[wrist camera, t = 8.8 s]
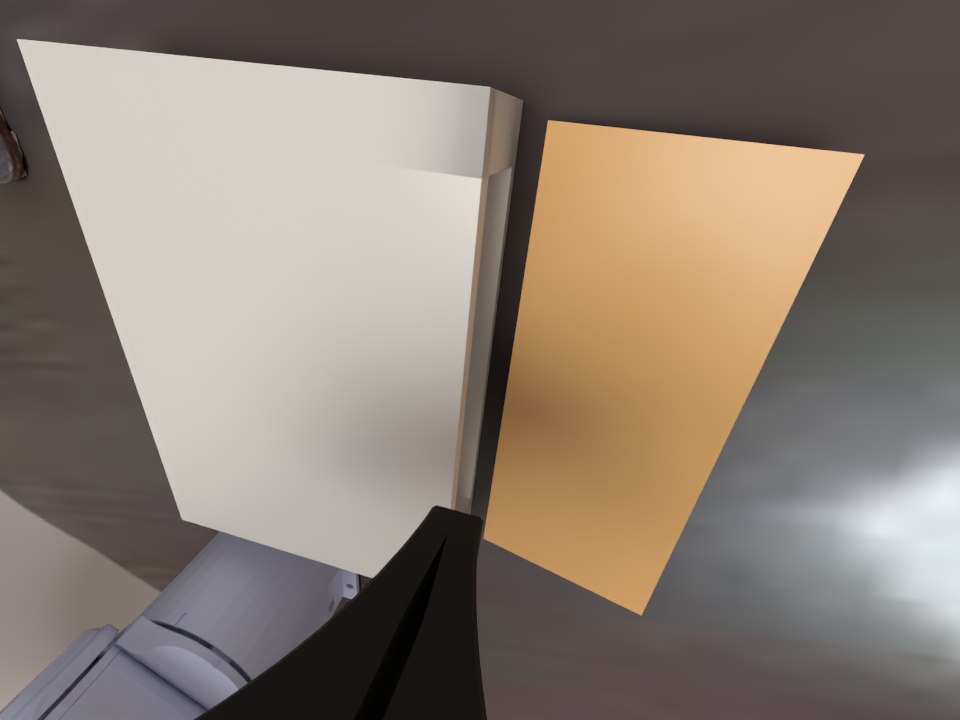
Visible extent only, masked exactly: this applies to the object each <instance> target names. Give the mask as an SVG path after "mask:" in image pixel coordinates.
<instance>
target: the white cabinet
mask: <svg viewBox="0 0 960 720" xmlns="http://www.w3.org/2000/svg"><path fill="white" fill-rule="evenodd" d="M17 41H18V44H19V47H20V50H21V53H22V56H23V59H24V62H25V65H26V68H27V70H28V73H29V76H30V79H31V82H32V85H33V88H34V91H35V94H36V97H37V100H38V102H39V105H40V108H41V111H42V114H43V117H44V120H45V123H46V126H47V129H48V131H49V134H50V137H51V140H52V143H53V146H54V149H55V152H56V155H57V158H58V161H59V163H60V166H61V169H62V172H63V175H64V178H65V181H66V184H67V187H68V190H69V193H70V195H71V198H72V201H73V204H74V207H75V210H76V213H77V216H78V219H79V222H80V224H81V227H82V230H83V233H84V236H85V239H86V242H87V245H88V248H89V251H90V254H91V256H92V259H93V262H94V265H95V268H96V271H97V274H98V277H99V280H100V283H101V286H102V288H103V291H104V294H105V297H106V300H107V303H108V306H109V309H110V312H111V315H112V317H113V320H114V323H115V326H116V329H117V332H118V335H119V338H120V341H121V344H122V347H123V349H124V352H125V355H126V358H127V361H128V364H129V367H130V370H131V373H132V376H133V379H134V381H135V384H136V387H137V390H138V393H139V396H140V399H141V402H142V405H143V408H144V411H145V413H146V416H147V419H148V422H149V425H150V428H151V431H152V434H153V437H154V440H155V442H156V445H157V448H158V451H159V454H160V457H161V460H162V463H163V466H164V469H165V472H166V474H167V477H168V480H169V483H170V486H171V489H172V492H173V495H174V498H175V501H176V504H177V506H178V509H179V512H180V515H181V518H182V520H185V521H189V522H192V523H195V524H198V525H202V526H205V527H208V528H211V529H215V530H218V531H221V532H224V533H228V534H231V535H234V536H237V537H240V538H244V539H247V540H250V541H253V542H257V543H260V544H263V545H266V546H270V547H273V548H276V549H279V550H283V551H286V552H289V553H292V554H296V555H299V556H302V557H305V558H309V559H312V560H315V561H318V562H321V563H325V564H328V565H331V566H334V567H338V568H341V569H344V570H347V571H351V572H354V573H357V574H360V575H364V576H367V577H370V578H374V577H375V576H376V575H377V574H378V573H379V571H380V570H381V569H382V568H383V567H384V566H385V565H386V564H387V563H388V562H389V561H390V559H391V558H392V557H393V556H394V555H395V554H396V553H397V552H398V551H399V549H400V548H401V547H402V546H403V545H404V544H405V542H406V541H407V540H408V539H409V538H410V536H411V535H412V534H413V533H414V532H415V530H416V529H417V528H418V526H419V525H420V524H421V523H422V521H423V520H424V519H425V517H426V516H427V514H428V513H429V511H430V510H431V508H432V507H434V506H436V505H438V506H441V507H445V508H449V509H452V510H456V511H459V512H463V513H467V514H470V515H471V507H472V499H473V491H474V484H475V476H476V468H477V460H478V452H479V445H480V437H481V429H482V421H483V413H484V405H485V398H486V390H487V382H488V374H489V366H490V358H491V351H492V343H493V335H494V327H495V319H496V311H497V304H498V296H499V288H500V280H501V272H502V264H503V257H504V249H505V241H506V233H507V225H508V217H509V210H510V202H511V194H512V186H513V178H514V170H515V163H516V155H517V147H518V139H519V131H520V123H521V116H522V108H523V100H521V99H518V98H516V97H514V96H511V95H509V94H506V93H504V92H501V91H499V90H497V89H494V88H492V87H486V86H476V85H466V84H456V83H447V82H437V81H427V80H417V79H407V78H397V77H387V76H378V75H368V74H358V73H348V72H338V71H328V70H318V69H308V68H299V67H289V66H279V65H269V64H259V63H249V62H239V61H230V60H220V59H210V58H200V57H190V56H180V55H170V54H161V53H151V52H141V51H131V50H121V49H111V48H101V47H91V46H82V45H72V44H62V43H52V42H42V41H32V40H22V39H17Z"/></svg>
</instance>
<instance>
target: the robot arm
mask: <svg viewBox="0 0 960 720" xmlns="http://www.w3.org/2000/svg"><path fill="white" fill-rule="evenodd" d="M482 526H483V520H482V519H481V518H480V517H477V516H474V515H470V514H467V513H463V512H459V511H456V510H452V509H449V508H445V507H441V506H438V505H436V506H434V507H432V508H431V510H430V511H429V513H428V514H427V516H426V517H425V519H424V520H423V521H422V523H421V524H420V525H419V526H418V528H417V529H416V530H415V532H414V533H413V534H412V535H411V536H410V538H409V539H408V540H407V541H406V542H405V544H404V545H403V546H402V547H401V548H400V549H399V551H398V552H397V553H396V554H395V555H394V556H393V557H392V558H391V559H390V561H389V562H388V563H387V564H386V565H385V566H384V567H383V568H382V569H381V570H380V571H379V573H378V574H377V575H376V576H375V577H374V578H373V579H372V580H371V581H370V582H369V583H368V584H367V585H366V586H365V587H364V588H363V589H362V590H361V591H360V592H359V577H358V574H357V573H354V572H351V571H347V570H344V569H341V568H338V567H334V566H331V565H328V564H325V563H321V562H318V561H315V560H312V559H309V558H305V557H302V556H299V555H296V554H292V553H289V552H286V551H283V550H279V549H276V548H273V547H270V546H266V545H263V544H260V543H257V542H253V541H250V540H247V539H244V538H240V537H237V536H234V535H231V534H228V533H224V532H221V531H220V532H219V533H218V534H217V535H216V536H215V537H214V538H213V539H212V540H211V541H210V542H209V543H208V544H207V545H206V546H205V547H204V548H203V550H202V551H201V552H200V553H199V554H198V555H197V556H196V557H195V558H194V559H193V560H192V561H191V562H190V563H189V564H188V565H187V566H186V567H185V568H184V569H183V570H182V571H181V573H180V574H179V575H178V576H177V577H176V578H175V579H174V580H173V581H172V582H171V583H170V584H169V585H168V586H167V587H166V588H165V589H164V590H163V591H162V592H161V593H160V595H159V596H158V597H157V598H156V599H155V600H154V601H153V602H152V603H151V604H150V605H149V606H148V607H147V608H146V609H145V610H144V611H143V612H142V613H141V614H140V615H139V616H138V618H137V619H136V620H135V621H133V622H132V623H131V624H129V625H128V626H127V627H126V628H124V629H123V630H122V631H120V632H119V633H118V631H119V630H118V629H116V628H115V627H114V626H112V625H110V624H107V625H105V626H103V627H102V628H101V629H100V628H95V629H90V630H86V631H85V632H83V633H82V634H81V635H80V636H79V637H78V638H77V639H76V640H75V641H74V642H73V643H72V644H70V645H69V646H68V647H67V648H66V649H65V650H64V651H63V652H62V653H61V654H60V655H59V656H58V657H57V658H56V659H55V660H54V661H53V662H51V663H50V664H49V665H48V666H47V667H46V668H45V669H44V670H43V671H42V672H41V673H40V674H39V675H38V676H37V677H36V678H35V679H34V680H33V681H32V682H31V683H30V684H28V685H27V686H26V687H25V688H24V689H23V690H22V691H21V692H20V693H19V694H18V695H17V696H16V697H15V698H14V699H13V700H12V701H11V702H10V703H9V704H8V705H7V706H6V707H5V708H4V709H2V710H1V712H0V720H487V716H486V709H485V701H484V693H483V686H482V677H481V668H480V658H479V646H478V631H477V612H476V566H477V555H478V549H479V543H480V538H481V532H482ZM342 597H346V598H349V599H351V600H350V601H349V602H348V603H347V604H346V605H345V606H344V607H343V608H342V609H341V610H340V611H338V612H337V613H336V614H335V615H334V616H333V617H332V615H333V614H334V612H335V610H336V608H337V606H338V605H339V603H340V601H341V599H342ZM331 617H332V618H331ZM117 633H118V634H117ZM116 634H117V635H116Z"/></svg>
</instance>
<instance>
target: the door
mask: <svg viewBox="0 0 960 720" xmlns="http://www.w3.org/2000/svg"><path fill="white" fill-rule="evenodd" d="M863 157H864V154H854V153H845V152H836V151H827V150H818V149H808V148H799V147H790V146H781V145H772V144H763V143H753V142H744V141H735V140H726V139H717V138H707V137H698V136H689V135H680V134H671V133H662V132H652V131H643V130H634V129H625V128H616V127H607V126H597V125H588V124H579V123H570V122H561V121H551V120H548V124H547V131H546V137H545V144H544V150H543V157H542V163H541V170H540V176H539V183H538V189H537V196H536V202H535V208H534V215H533V221H532V228H531V234H530V241H529V247H528V254H527V260H526V267H525V273H524V280H523V286H522V293H521V299H520V305H519V312H518V318H517V325H516V331H515V338H514V344H513V351H512V357H511V364H510V370H509V377H508V383H507V390H506V396H505V402H504V409H503V415H502V422H501V428H500V435H499V441H498V448H497V454H496V461H495V467H494V474H493V480H492V486H491V493H490V499H489V506H488V512H487V519H486V525H485V532H484V538H483V539H486V540H488V541H490V542H492V543H494V544H496V545H498V546H500V547H502V548H504V549H506V550H508V551H510V552H512V553H514V554H516V555H518V556H520V557H522V558H524V559H527V560H529V561H531V562H533V563H535V564H537V565H539V566H541V567H543V568H545V569H547V570H549V571H551V572H553V573H555V574H557V575H559V576H561V577H563V578H565V579H568V580H570V581H572V582H574V583H576V584H578V585H580V586H582V587H584V588H586V589H588V590H590V591H592V592H594V593H596V594H598V595H600V596H602V597H604V598H606V599H609V600H611V601H613V602H615V603H617V604H619V605H621V606H623V607H625V608H627V609H629V610H631V611H633V612H635V613H637V614H639V615H642V613H643V611H644V609H645V607H646V605H647V603H648V601H649V599H650V597H651V594H652V592H653V590H654V588H655V586H656V584H657V582H658V580H659V578H660V576H661V574H662V572H663V570H664V568H665V566H666V563H667V561H668V559H669V557H670V555H671V553H672V551H673V549H674V547H675V545H676V543H677V541H678V539H679V537H680V535H681V533H682V530H683V528H684V526H685V524H686V522H687V520H688V518H689V516H690V514H691V512H692V510H693V508H694V506H695V504H696V502H697V500H698V497H699V495H700V493H701V491H702V489H703V487H704V485H705V483H706V481H707V479H708V477H709V475H710V473H711V471H712V469H713V467H714V464H715V462H716V460H717V458H718V456H719V454H720V452H721V450H722V448H723V446H724V444H725V442H726V440H727V438H728V436H729V434H730V431H731V429H732V427H733V425H734V423H735V421H736V419H737V417H738V415H739V413H740V411H741V409H742V407H743V405H744V403H745V401H746V398H747V396H748V394H749V392H750V390H751V388H752V386H753V384H754V382H755V380H756V378H757V376H758V374H759V372H760V370H761V368H762V365H763V363H764V361H765V359H766V357H767V355H768V353H769V351H770V349H771V347H772V345H773V343H774V341H775V339H776V337H777V334H778V332H779V330H780V328H781V326H782V324H783V322H784V320H785V318H786V316H787V314H788V312H789V310H790V308H791V306H792V304H793V301H794V299H795V297H796V295H797V293H798V291H799V289H800V287H801V285H802V283H803V281H804V279H805V277H806V275H807V273H808V271H809V268H810V266H811V264H812V262H813V260H814V258H815V256H816V254H817V252H818V250H819V248H820V246H821V244H822V242H823V240H824V238H825V235H826V233H827V231H828V229H829V227H830V225H831V223H832V221H833V219H834V217H835V215H836V213H837V211H838V209H839V207H840V205H841V202H842V200H843V198H844V196H845V194H846V192H847V190H848V188H849V186H850V184H851V182H852V180H853V178H854V176H855V174H856V172H857V169H858V167H859V165H860V163H861V161H862V159H863Z"/></svg>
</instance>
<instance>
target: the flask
mask: <svg viewBox="0 0 960 720" xmlns="http://www.w3.org/2000/svg"><path fill="white" fill-rule="evenodd" d="M6 127H8V126H7V124H6V122H5V118H4V117H3V115H2V112H1V111H0V183H10V182H13V181H16V180H17V179H20V178H22V177H24V176H25V175H26V176H27V173H26V171H25V170H24V168H23V163H22V161H23V160H22V157H23V156H22V152H21V149H20V147H19V145H20V144H18V140H17V138H16V134H15V133H14V131H9V130H8V129H7V128H6Z"/></svg>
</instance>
